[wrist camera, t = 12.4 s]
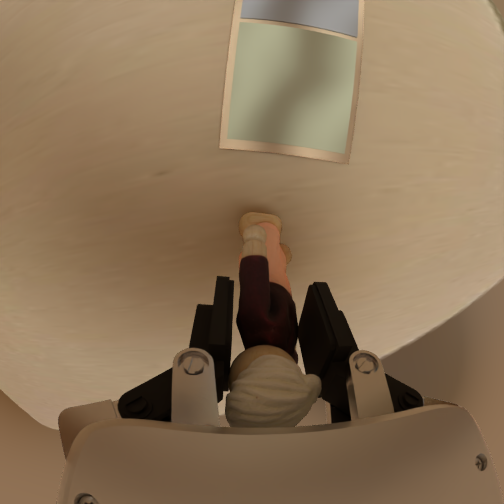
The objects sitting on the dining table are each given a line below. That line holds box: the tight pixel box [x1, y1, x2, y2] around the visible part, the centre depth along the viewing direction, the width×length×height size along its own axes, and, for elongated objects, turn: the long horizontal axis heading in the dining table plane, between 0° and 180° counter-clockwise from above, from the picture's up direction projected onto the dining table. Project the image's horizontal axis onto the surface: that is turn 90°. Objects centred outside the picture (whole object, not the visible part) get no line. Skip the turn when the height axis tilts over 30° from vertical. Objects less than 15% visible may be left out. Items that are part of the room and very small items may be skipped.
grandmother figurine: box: [225, 212, 322, 428], centre depth 13 cm, size 8×4×13 cm, turn 27°
